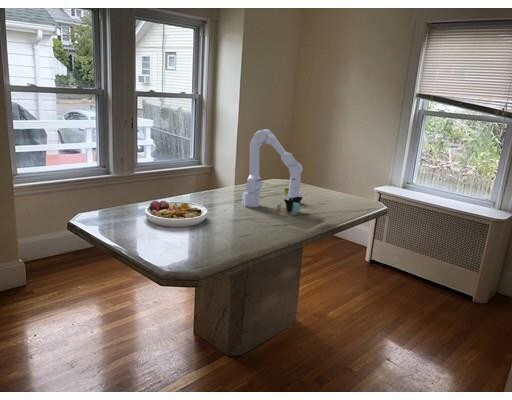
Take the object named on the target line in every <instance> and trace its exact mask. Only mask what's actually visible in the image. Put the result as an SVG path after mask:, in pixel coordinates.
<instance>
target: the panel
mask: <svg viewBox="0 0 512 400" xmlns="http://www.w3.org/2000/svg"><path fill="white" fill-rule="evenodd" d="M268 209H269V210H270V211H271V212H273V213H274V214H275V215H276V216H295V215H297V216H298V215H303V213H302V212H301V211H299V212H298V213H296V214H291V213H287V212H285V211H286V207H281V210H280V211H276V207H274V208H273V207H272V208H271V207H270V208H269V207H268Z"/></svg>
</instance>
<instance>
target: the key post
mask: <svg viewBox="0 0 512 400" xmlns="http://www.w3.org/2000/svg"><path fill="white" fill-rule="evenodd" d="M275 208H276V211H280V210H281V208H282V204H281V203H276V204H275Z"/></svg>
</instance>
